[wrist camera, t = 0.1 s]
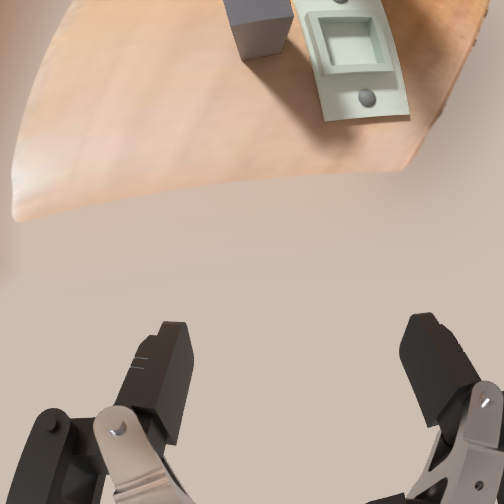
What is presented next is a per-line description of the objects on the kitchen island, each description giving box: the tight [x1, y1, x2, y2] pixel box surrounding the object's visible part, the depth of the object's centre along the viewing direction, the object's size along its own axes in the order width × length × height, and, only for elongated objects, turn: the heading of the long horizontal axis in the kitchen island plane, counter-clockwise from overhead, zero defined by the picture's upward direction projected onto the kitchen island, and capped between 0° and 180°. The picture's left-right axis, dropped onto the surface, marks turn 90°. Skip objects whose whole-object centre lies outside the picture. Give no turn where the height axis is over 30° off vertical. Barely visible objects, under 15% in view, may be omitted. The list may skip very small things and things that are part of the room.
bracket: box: [293, 0, 410, 122], centre depth 26 cm, size 20×12×4 cm, turn 13°
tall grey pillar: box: [223, 0, 294, 61], centre depth 22 cm, size 4×5×14 cm
